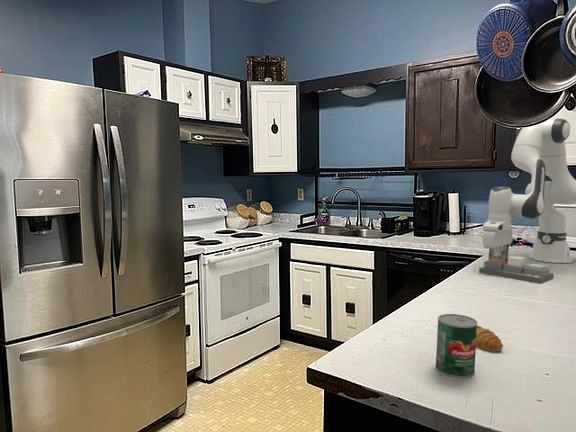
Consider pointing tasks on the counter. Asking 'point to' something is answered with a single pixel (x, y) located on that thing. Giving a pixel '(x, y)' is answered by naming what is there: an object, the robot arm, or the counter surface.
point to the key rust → (497, 260)
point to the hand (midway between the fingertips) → (497, 256)
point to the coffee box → (503, 254)
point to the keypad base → (516, 272)
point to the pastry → (487, 340)
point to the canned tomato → (456, 345)
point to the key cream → (516, 261)
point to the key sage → (537, 266)
